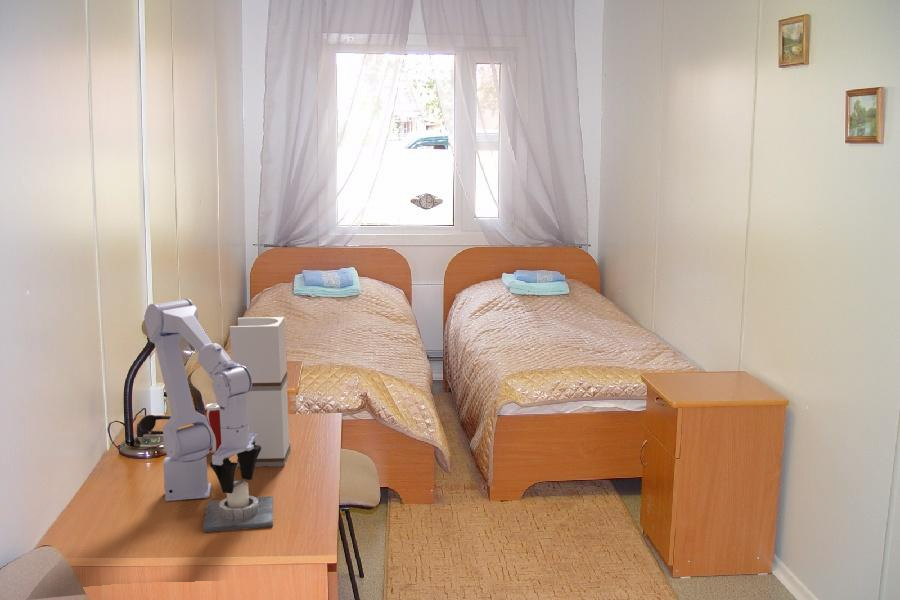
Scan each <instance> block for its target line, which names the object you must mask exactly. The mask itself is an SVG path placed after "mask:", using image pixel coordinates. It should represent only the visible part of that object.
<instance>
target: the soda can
mask: <svg viewBox="0 0 900 600" xmlns="http://www.w3.org/2000/svg"><path fill="white" fill-rule="evenodd" d="M203 412H204V416H206V418H207V421H208V424H209V426H210V428H211V429H212V432H213V435H214V442H213V445H212V447H211V448H210V449H209V454H215V453H216V451H217V450H218V448H219V447H220V445H221V428H220V409H219V405H217V402H213V403H212V402H211V403H209V404H206V405H205V409H204V411H203Z"/></svg>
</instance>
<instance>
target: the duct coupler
mask: <svg viewBox="0 0 900 600" xmlns="http://www.w3.org/2000/svg"><path fill="white" fill-rule="evenodd" d="M249 496H250V493H249V482H248V481H247V480H246V481H245V480H244V479H240V480H234V488H233V492H232V493H231V494H230V493H226V498H227V504H228V508H243V507H247V506H249Z"/></svg>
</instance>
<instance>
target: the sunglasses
mask: <svg viewBox="0 0 900 600" xmlns="http://www.w3.org/2000/svg"><path fill="white" fill-rule="evenodd" d="M171 416H172V415H153V414H148V415H146V416H143V417H142V418H141V419H140V420H139V422H138V423H137V424H136V437H143V438H144V435H146V436H147V435H149V436H150V435H155V436H156V435H163V430H162V431H161V430H153V429H154V428H155V426H156V423H157V422H156V421H157V420H169V419H170V417H171Z"/></svg>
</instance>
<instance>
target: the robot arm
mask: <svg viewBox="0 0 900 600" xmlns="http://www.w3.org/2000/svg"><path fill="white" fill-rule="evenodd" d="M143 318H144V323H145V328H146V333H147V336H148V338H149V339H148V340H149V342H150V343H152V344H154V348H155V351H156V355H157V359H158V363H159V367H160V372H161V376H162V381H163V385H164V389H165V392H166V393H165V394H166V397H167V401H168V405H169V409H170V411H169V412H170V416H171V417H170V419H167V421H166V423H165V424H164V425H163V426H162V428H161V429H162V431H163V434H162V435H163V437H162V438H163V440H162V445H163V449H164V452H165V453H166V455H167V457H164V458H163V459H164V460H163V481H164V482H163V483H164V484H163V487H164V488H163V489H164V494H165V495H164V497H165V498H164V500H165V501H166V502H170V501H183V500H194V499H195V500H196V499H208V498H210V494H211V489H212V483H211V482H209V479H208V478H209V477H208V476H209V475H208V462H207V461H208V460H207V455H208V454H210V453H209V449H210V448H211V447H212V445H213V442H214V435H213V432H212V429H211V428H210V426H209V424H208V421H207V418H206V416H205V414H202V413H200V412H198V411H197V410H195V406H194V401H193V398H192V393H191V389H190V385H189V380H188V376H187V375H188V374H187V372H186V367H185V364H184V360H183V355H182V351H181V347H180V342H181V340H182V338H184V339H185V340H186V341H187V343H188V344H189V345H190V346H191V347H192V348H193V350H195V351H196V353H198V354H197V361H198V364H199V365H200V366H201V367H202V368H203V370H204V371H205V373H207V375H208V376H209V377H210V379H211V380H212V382H211V386H212V389H213V393H214V395H215V403H217V405H219V409H220V428H221V445H220V447H219V448H218V450H217V451H216V453H213V454H212V455H211V460H210V461H209V466H210V468H211V469H212V470H213V472H214V474H215V475H216V477H217V479H218V482H219V484H220V489H221V491H222V494H223V493H226V494H227V493H230V494H231V493H232V492H233V488H234V481H235V473H236V469H237V468H238V465H237V464H238V463H237V462H235V461H234V462H233V461H231V460H230V458H231V457H234V456H235V455H236V457H237V456H238V459H239V463H240V467H239V469H240V475H241V480H244V481H245V480H246V481H251V480H253V477H254V472H255V468H256V467H255V463H256V460H257V457H258V455H259V453H260V451H261V446H259V445H255V444H256V443H258V435H257V434H252V433H249V428H248V407H247V392H249V391H250V390H251V388H252V378H251V374H250V372H249V371H248V369H247V368H246V367H245V366H243V365H239V364H237V363H234V362H233V360H232V359H231V357H230V356H229V354H228V353H227V351H225V349H224V348H223V347H222V345H221V344H220V343H213V342H212V341H211V339H210V338H209V336H208V334H207V333H206V332H205V330H204V328H203V327H202V325H201V324H200V321H199V319H198V318H199V313H198V308H197V307H196V304H194V301H192V300H191V299H190V298H182V299H176V300H171V301H166V302H165V301H164V302H160V303H150V304H148V306H147V307H146V309H145V313H144V316H143ZM188 425H189V426H188ZM186 426H187V427H186ZM181 427H182V428H181Z"/></svg>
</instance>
